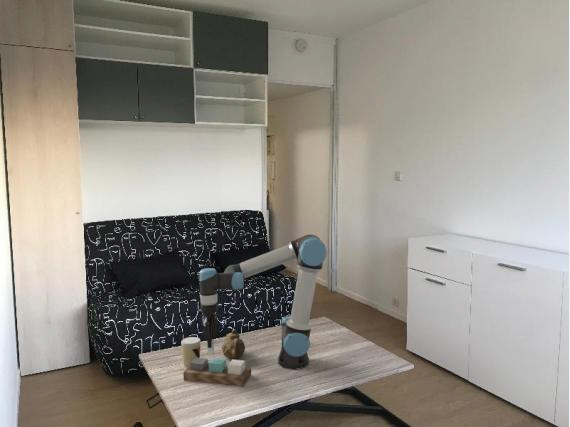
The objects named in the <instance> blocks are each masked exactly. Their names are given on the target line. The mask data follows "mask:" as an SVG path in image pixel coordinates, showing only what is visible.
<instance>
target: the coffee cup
mask: <svg viewBox="0 0 570 427" xmlns="http://www.w3.org/2000/svg"><path fill="white" fill-rule="evenodd" d="M201 343H202V341H201V338H199V337H194V336H189V337H185V338H183V339H182V340H181V342H180V344H181V355H182V363H183V366H184V367H185V368H188V367H189V366H190V363H191V362H192V361H193V360H194V359H195V358H201Z"/></svg>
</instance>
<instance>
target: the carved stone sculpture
mask: <svg viewBox="0 0 570 427" xmlns="http://www.w3.org/2000/svg"><path fill="white" fill-rule="evenodd" d="M240 337H241V336H240V334H239V333H238V331H237V329H235V328H233V329H232V330H231V332H230V333H227V334H226V335H225V337H224V338H225V339H224V341H223V342H222V346H221V349H222V350H221V351H222V354H223V355H224V357H226V359H227V358H228V359H230V360H232V359H233V360H240V358H241V357H242V356H243V355H244V354H245V351H246V345H245V342H244V341H243V340H242V338H240Z"/></svg>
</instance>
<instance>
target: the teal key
mask: <svg viewBox="0 0 570 427" xmlns="http://www.w3.org/2000/svg"><path fill="white" fill-rule="evenodd" d="M208 363H209V372H216V373H222V372H223V371H224V370H225V369H226V364H227V358H221V357H213V358H212V359H211V360H210V361H208Z"/></svg>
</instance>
